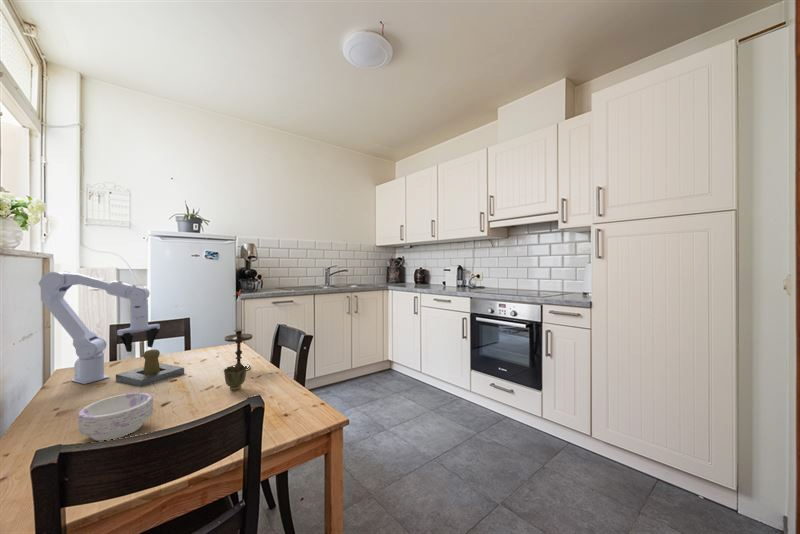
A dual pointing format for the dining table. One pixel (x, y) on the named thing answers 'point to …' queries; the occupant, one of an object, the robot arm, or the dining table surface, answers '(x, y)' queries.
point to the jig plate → (141, 380)
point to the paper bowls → (115, 416)
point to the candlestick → (238, 333)
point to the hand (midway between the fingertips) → (139, 349)
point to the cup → (235, 376)
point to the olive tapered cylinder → (151, 362)
